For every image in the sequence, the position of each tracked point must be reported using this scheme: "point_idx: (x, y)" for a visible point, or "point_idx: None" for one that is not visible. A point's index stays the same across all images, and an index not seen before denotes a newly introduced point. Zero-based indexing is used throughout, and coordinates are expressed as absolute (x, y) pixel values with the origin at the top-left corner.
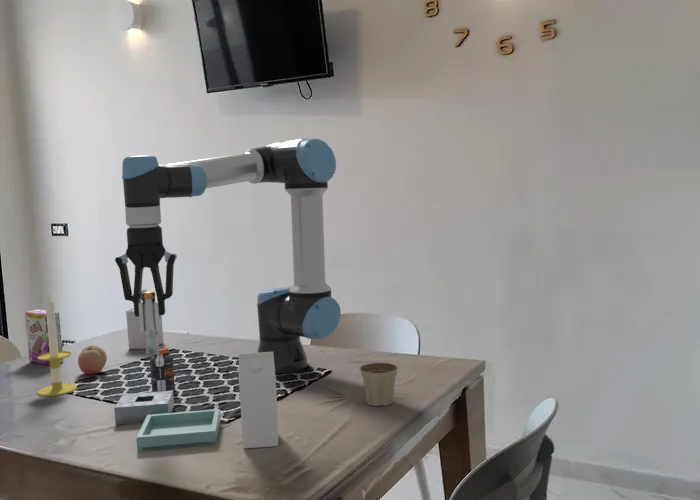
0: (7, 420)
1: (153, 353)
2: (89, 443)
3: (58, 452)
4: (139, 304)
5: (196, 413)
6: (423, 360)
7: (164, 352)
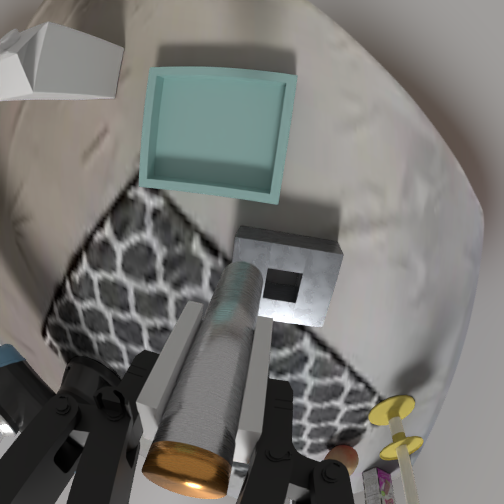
0: (467, 323)
1: (237, 263)
2: (381, 161)
3: (425, 143)
4: (255, 423)
5: (180, 181)
6: None
7: None
